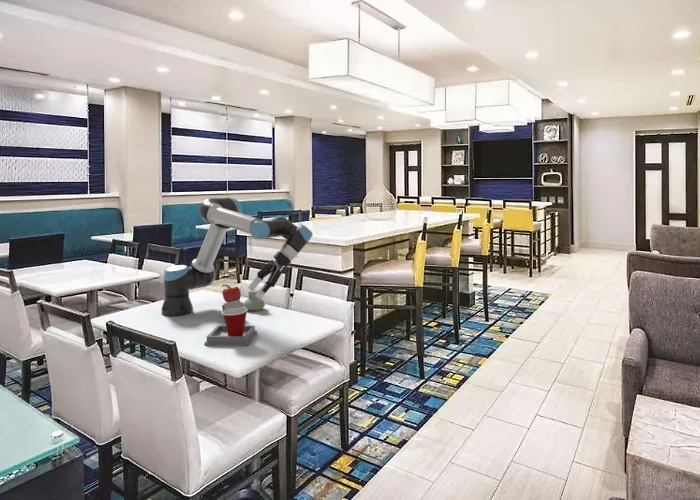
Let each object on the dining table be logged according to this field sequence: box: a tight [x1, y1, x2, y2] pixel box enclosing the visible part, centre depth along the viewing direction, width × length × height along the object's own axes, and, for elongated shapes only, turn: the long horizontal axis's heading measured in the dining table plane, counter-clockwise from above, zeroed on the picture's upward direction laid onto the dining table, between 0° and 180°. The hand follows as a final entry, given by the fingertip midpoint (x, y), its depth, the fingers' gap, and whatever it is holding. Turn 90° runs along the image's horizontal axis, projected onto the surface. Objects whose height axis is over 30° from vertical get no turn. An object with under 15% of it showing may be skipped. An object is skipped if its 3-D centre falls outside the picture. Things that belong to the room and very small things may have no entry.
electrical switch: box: [221, 300, 243, 311], centre depth 240 cm, size 9×5×9 cm, turn 141°
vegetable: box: [221, 284, 242, 303], centre depth 273 cm, size 11×10×10 cm
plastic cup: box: [221, 307, 249, 336], centre depth 208 cm, size 11×11×12 cm
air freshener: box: [243, 289, 266, 312], centre depth 259 cm, size 11×8×10 cm
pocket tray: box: [203, 324, 258, 347], centre depth 211 cm, size 18×18×4 cm
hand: (253, 293), depth 214 cm, fingers open, 13 cm apart
